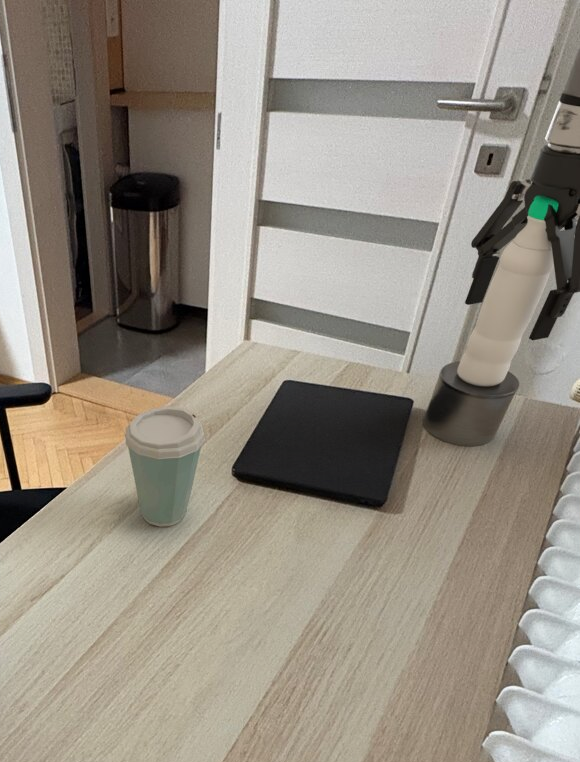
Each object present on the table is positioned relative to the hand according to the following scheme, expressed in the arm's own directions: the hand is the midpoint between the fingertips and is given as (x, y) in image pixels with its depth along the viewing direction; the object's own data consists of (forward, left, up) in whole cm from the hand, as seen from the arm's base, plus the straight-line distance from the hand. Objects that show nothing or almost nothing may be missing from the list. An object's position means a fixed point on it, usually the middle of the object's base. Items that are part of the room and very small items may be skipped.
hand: (504, 319), depth 92 cm
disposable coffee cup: (+46, +32, -18) cm, 59 cm away
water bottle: (0, 0, -9) cm, 9 cm away
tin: (0, 0, -18) cm, 18 cm away
